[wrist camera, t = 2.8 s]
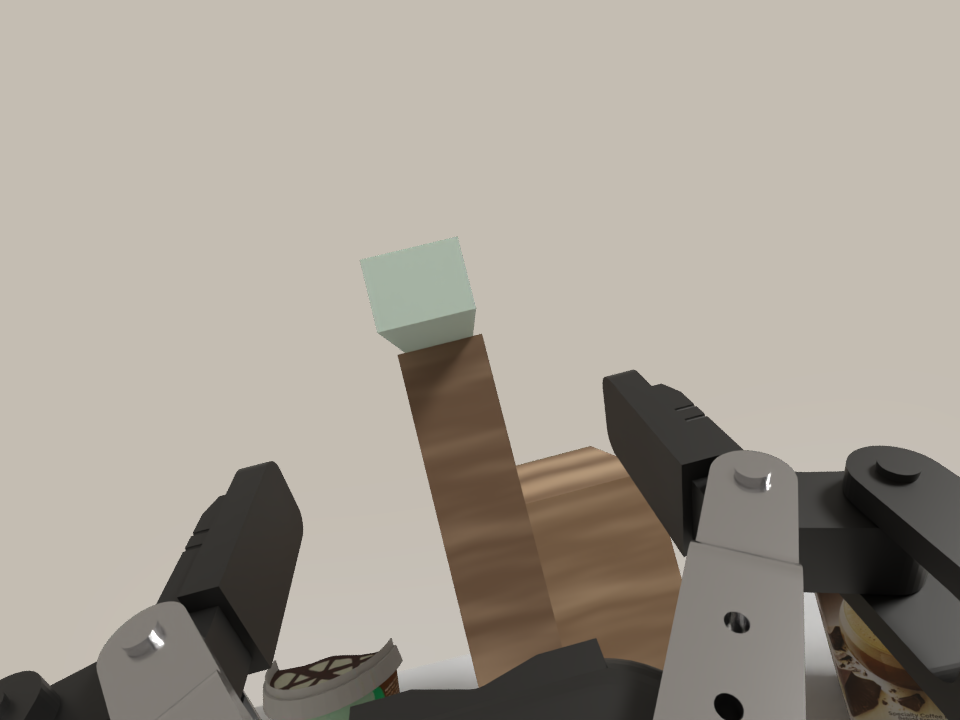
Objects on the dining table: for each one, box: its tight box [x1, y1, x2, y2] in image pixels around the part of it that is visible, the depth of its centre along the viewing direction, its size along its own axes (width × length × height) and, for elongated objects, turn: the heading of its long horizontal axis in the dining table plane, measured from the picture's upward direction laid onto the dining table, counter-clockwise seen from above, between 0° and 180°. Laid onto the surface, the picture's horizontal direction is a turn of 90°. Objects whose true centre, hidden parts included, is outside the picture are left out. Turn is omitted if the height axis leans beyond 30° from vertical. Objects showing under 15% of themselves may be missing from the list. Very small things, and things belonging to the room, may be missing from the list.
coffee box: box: [815, 593, 948, 720], centre depth 35 cm, size 9×6×16 cm
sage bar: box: [360, 237, 476, 353], centre depth 32 cm, size 24×4×3 cm, turn 2°
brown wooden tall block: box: [398, 334, 682, 688], centre depth 35 cm, size 14×12×32 cm
